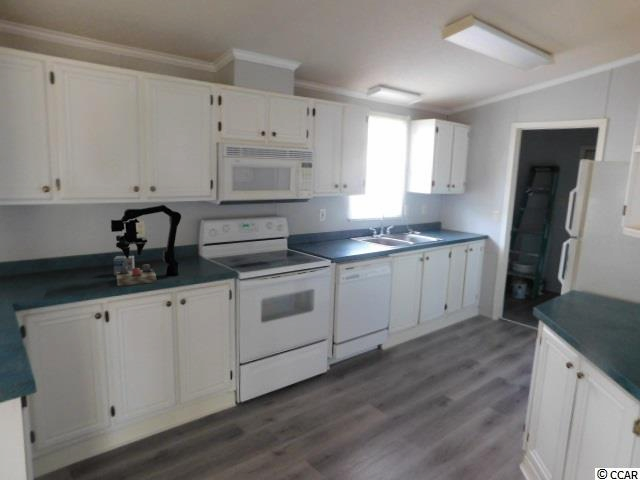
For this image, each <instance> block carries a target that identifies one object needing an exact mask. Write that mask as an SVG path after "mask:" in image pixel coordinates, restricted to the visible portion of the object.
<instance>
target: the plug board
mask: <svg viewBox="0 0 640 480" xmlns="http://www.w3.org/2000/svg"><path fill="white" fill-rule="evenodd" d="M115 276H116V283H117V286H118V287H119V286H129V285H130V286H131V285H140V284H149V283H152V284H153V283H157V274H156V273H155V271H154V269H150V272H146V273H143V269H140V276H137V277H133V271H128V274H122V275H120V272H116V275H115Z"/></svg>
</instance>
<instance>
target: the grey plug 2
mask: <svg viewBox="0 0 640 480" xmlns="http://www.w3.org/2000/svg"><path fill="white" fill-rule="evenodd" d="M142 270H143V273H146V272H150V270H151V265H150V263H149V264H148V263H147V264H142Z"/></svg>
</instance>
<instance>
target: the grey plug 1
mask: <svg viewBox="0 0 640 480" xmlns="http://www.w3.org/2000/svg"><path fill="white" fill-rule="evenodd" d="M122 274H128V266H121V267H120V275H122Z"/></svg>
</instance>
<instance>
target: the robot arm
mask: <svg viewBox="0 0 640 480" xmlns="http://www.w3.org/2000/svg"><path fill="white" fill-rule="evenodd" d="M157 213H163V214H165V215H167V216H168V217H169V230H168V231H169V232H168V236H167V237H168V238H167V244H166V248H165V250H162V255H161V257H162V260H163V261H164V262H165V264H166V267H165V275H166V276H167V277H172V276H173V277H175V276H179V262H178V261H177V260H176V259H175V250H174V249H175V243H176V237H177V231H178V226H179V224H180V222H181V220H182V215H181V213H180V212H178V211H176V210H172V209H171V208H169V207H167V205H164V204H160V205H157V206H156V205H155V206H150V207H144V208H126V209H125V210H124V212H123V216H122V217H121V219H111V220H110V230H111V233H117V232H123V230H125V232H124V233H123V235H121V234H119V235H116V236H115V240H116V241H117V242H116V244H115V247H116V248H118V249H120V250H121V251H122V252H123V254H124V256H126V258H127V259H128V258H129V256H130V250H131V247H130V245H134V244H135V246H136V250H137V256H140V255H141V254H142V251H143V249H144V247H145V246H146V245H147V243H148V239H147V238H146V237H141V236H140V237H138V234H139V231H138V230H137V223H140V220H138V219H137V218H140V217H141V216H146V215H152V214H157Z"/></svg>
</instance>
